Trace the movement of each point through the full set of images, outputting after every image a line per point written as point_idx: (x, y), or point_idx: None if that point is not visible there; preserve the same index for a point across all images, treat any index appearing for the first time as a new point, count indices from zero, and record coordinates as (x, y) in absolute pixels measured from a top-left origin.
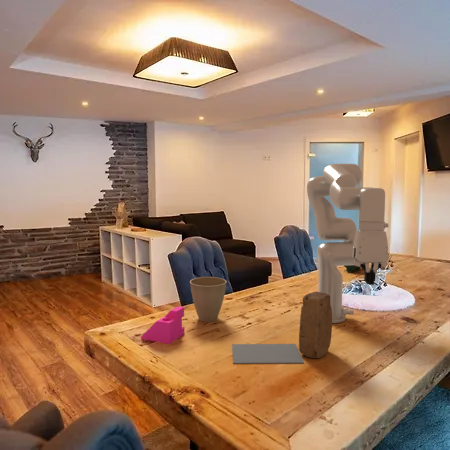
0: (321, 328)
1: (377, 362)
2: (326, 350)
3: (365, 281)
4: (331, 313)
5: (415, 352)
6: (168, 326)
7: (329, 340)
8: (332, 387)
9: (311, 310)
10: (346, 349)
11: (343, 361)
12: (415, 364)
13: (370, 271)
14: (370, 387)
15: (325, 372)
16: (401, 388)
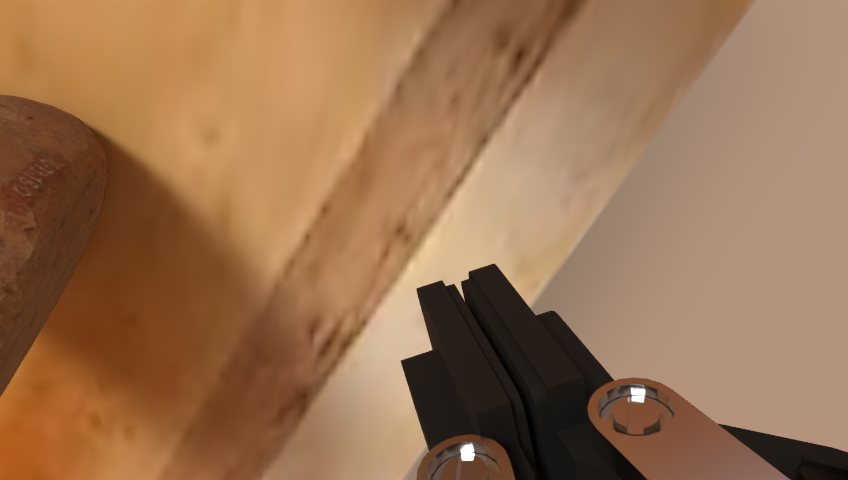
0: (12, 371)
1: (390, 205)
2: (98, 216)
3: (411, 395)
4: (37, 286)
5: (614, 19)
6: None
7: (97, 207)
8: (185, 477)
9: None
10: (222, 76)
11: (214, 244)
12: (564, 175)
13: (560, 451)
14: (334, 428)
15: (136, 379)
16: None
